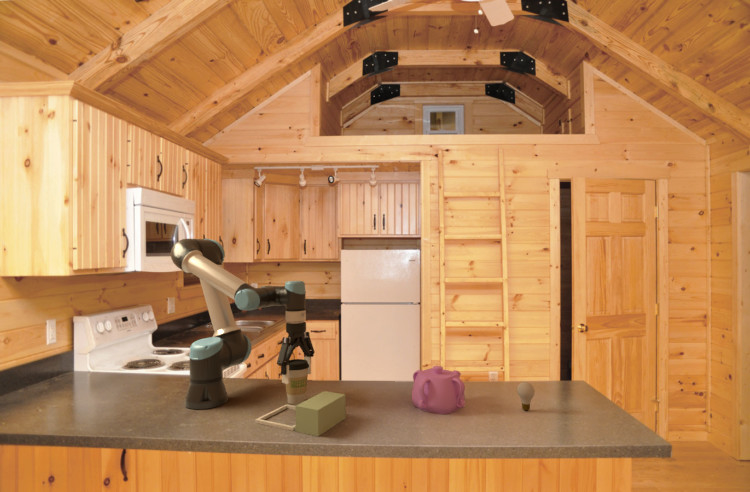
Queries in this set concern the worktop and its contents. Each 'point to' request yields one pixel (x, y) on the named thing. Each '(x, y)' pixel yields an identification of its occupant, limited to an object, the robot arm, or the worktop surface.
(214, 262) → the robot arm
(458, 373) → the pink pot with handles
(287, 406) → the green block with frame
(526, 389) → the light bulb
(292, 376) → the coffee cup
